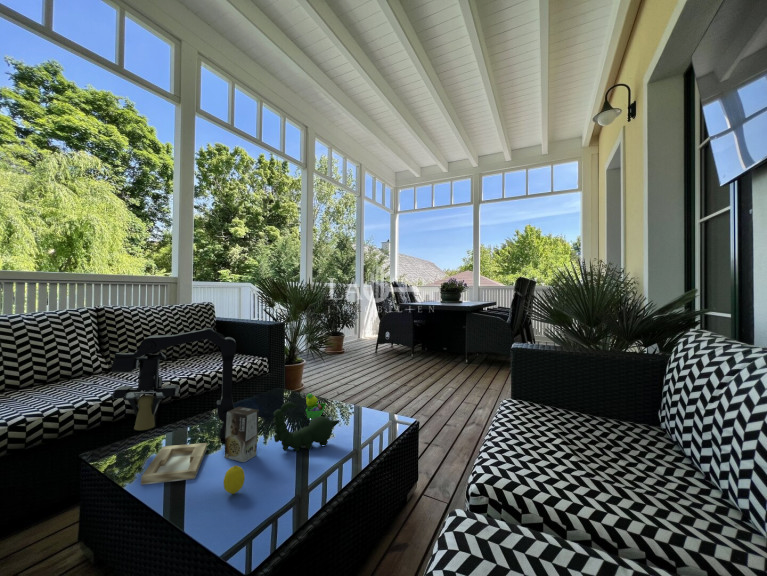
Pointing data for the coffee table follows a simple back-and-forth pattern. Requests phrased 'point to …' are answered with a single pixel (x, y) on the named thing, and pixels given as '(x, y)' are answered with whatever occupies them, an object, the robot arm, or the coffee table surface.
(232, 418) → the coffee box
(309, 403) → the fruit basket
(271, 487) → the coffee table surface
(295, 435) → the toy figurine
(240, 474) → the lemon
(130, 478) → the coffee table surface
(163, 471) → the keyhole plate
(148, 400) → the cork
